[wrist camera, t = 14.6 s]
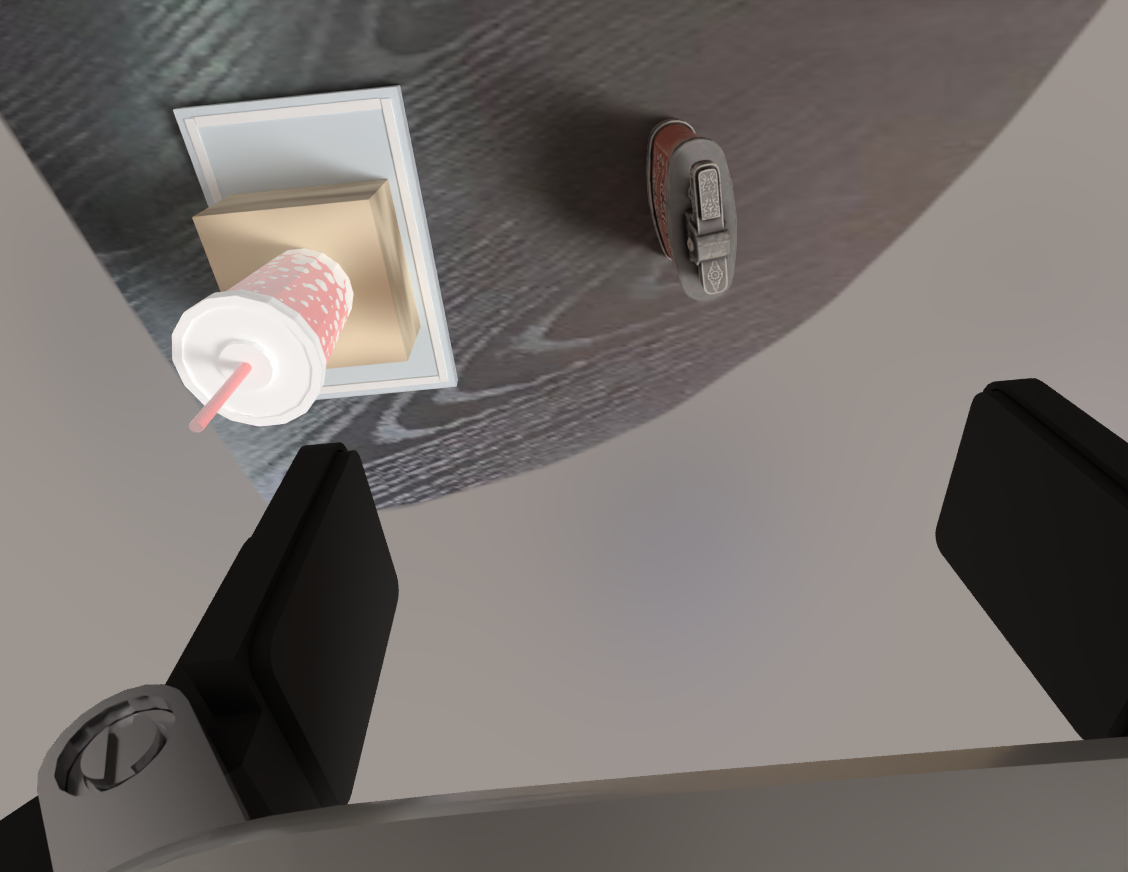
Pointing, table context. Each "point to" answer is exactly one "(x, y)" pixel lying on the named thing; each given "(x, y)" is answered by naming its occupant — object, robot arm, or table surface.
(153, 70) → the table surface
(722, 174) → the lighter
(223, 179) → the white tray
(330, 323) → the beverage cup
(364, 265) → the maple block
